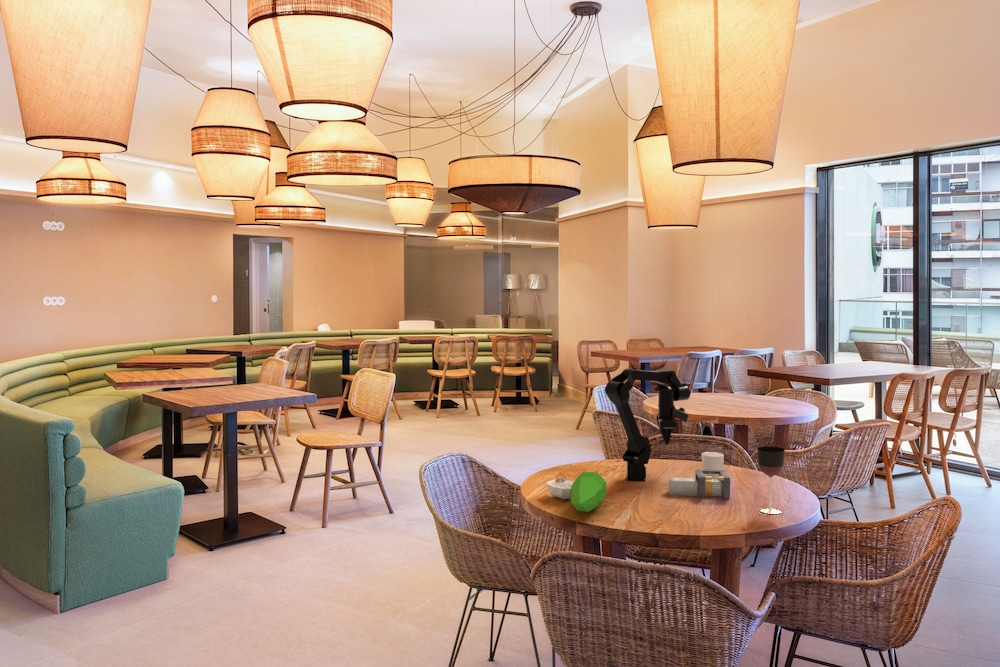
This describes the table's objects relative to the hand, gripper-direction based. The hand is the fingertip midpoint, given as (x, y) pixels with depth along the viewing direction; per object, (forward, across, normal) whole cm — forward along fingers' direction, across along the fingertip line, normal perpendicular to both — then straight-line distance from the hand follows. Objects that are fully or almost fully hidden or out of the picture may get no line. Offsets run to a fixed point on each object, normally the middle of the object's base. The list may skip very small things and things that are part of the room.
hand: (665, 442), depth 283 cm
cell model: (+12, -39, +38) cm, 56 cm away
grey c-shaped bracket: (+12, -29, -13) cm, 34 cm away
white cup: (+12, -10, -16) cm, 22 cm away
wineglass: (+12, -48, -28) cm, 57 cm away
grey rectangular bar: (+12, -29, -9) cm, 33 cm away
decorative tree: (+12, -52, +30) cm, 61 cm away
